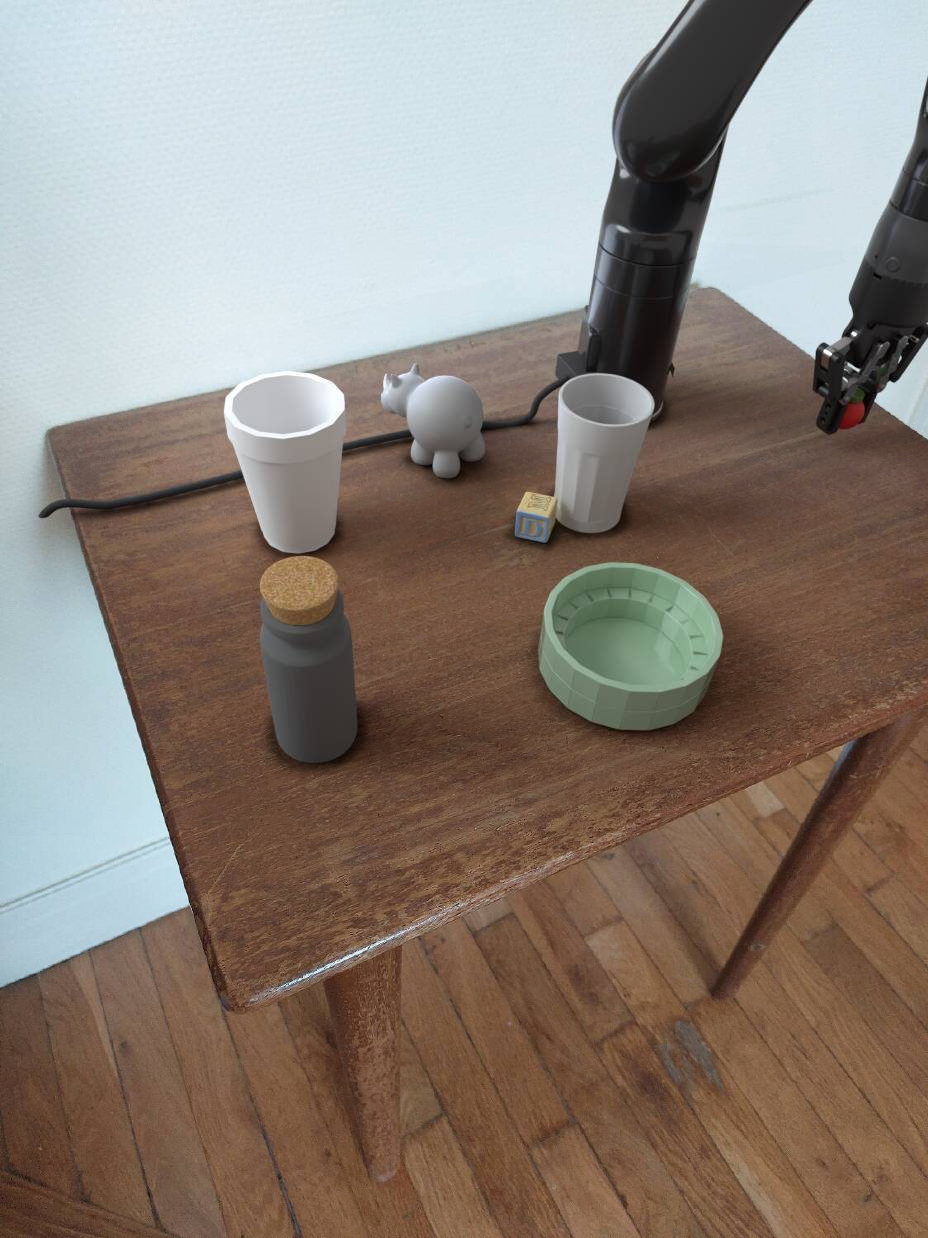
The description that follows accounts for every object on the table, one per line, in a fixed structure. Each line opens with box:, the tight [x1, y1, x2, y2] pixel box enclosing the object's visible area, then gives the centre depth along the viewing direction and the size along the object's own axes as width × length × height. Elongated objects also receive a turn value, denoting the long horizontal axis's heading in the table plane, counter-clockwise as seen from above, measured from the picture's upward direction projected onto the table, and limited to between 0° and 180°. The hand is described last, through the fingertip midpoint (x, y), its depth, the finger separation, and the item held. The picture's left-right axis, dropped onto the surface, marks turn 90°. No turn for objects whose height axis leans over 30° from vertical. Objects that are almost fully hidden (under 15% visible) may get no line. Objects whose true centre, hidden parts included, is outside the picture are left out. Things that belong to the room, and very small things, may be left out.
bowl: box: [537, 561, 724, 731], centre depth 69 cm, size 13×13×5 cm
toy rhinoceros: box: [380, 362, 486, 479], centre depth 87 cm, size 7×12×8 cm, turn 45°
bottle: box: [259, 555, 358, 764], centre depth 60 cm, size 6×6×15 cm
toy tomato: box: [838, 385, 865, 431], centre depth 91 cm, size 4×4×4 cm
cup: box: [553, 373, 655, 534], centre depth 80 cm, size 8×8×12 cm
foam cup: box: [223, 370, 347, 555], centre depth 76 cm, size 10×9×13 cm
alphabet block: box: [514, 491, 558, 544], centre depth 81 cm, size 3×3×3 cm
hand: (839, 424), depth 92 cm, fingers closed on toy tomato, 3 cm apart
